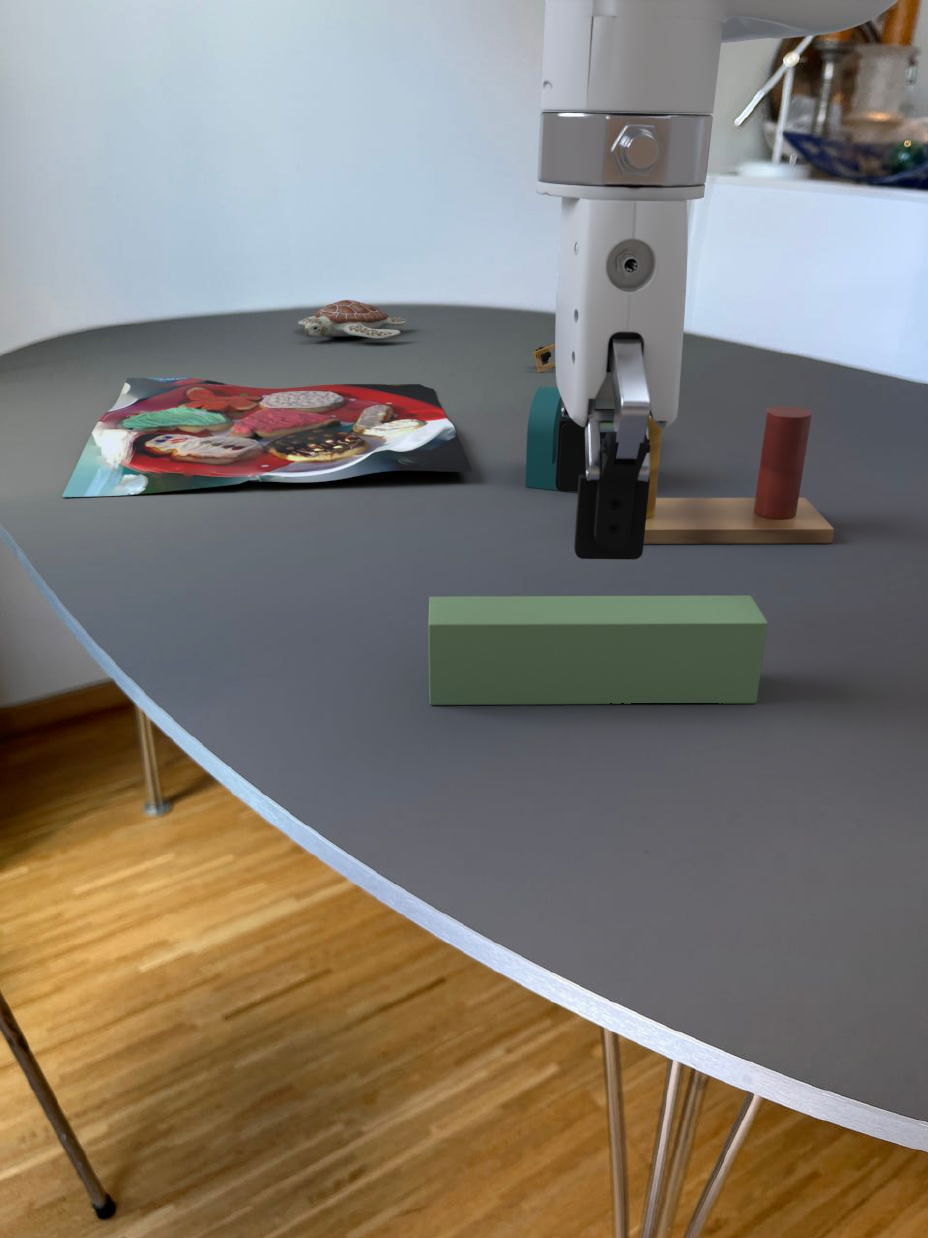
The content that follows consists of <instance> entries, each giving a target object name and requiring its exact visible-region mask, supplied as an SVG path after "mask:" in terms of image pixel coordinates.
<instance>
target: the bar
mask: <svg viewBox="0 0 928 1238" xmlns="http://www.w3.org/2000/svg"><path fill="white" fill-rule="evenodd" d="M427 619H428V622H427V628H428V629H427V630H428V631H427V634H428V636H427V637H428V641H427V643H428V697H429V698H428V703H429V705H430V706H472V705H473V706H492V705H493V706H494V705H496V706H497V705H498V706H499V705H500V706H501V705H502V706H503V705H504V706H507V705H512V706H513V705H517V706H518V705H520V706H521V705H523V706H524V705H525V706H526V705H529V706H530V705H622V704H621V703H624V704H623V705H632V704H631V703H719V704H721V703H723V704H757V700H758V694H759V688H760V680H761V674H762V673H761V672H762V667H763V660H764V654H765V646H766V640H767V633H768V627H769V622H768V621H767V619H766V617H765V616H764V614H763V612H762V611H761V610H760V608H759V606H758V605H757V603H756V601H755V599H754V598H753V596H752V595H745V594H744V595H740V594H739V595H537V596H536V595H532V596H530V595H526V596H525V595H514V596H513V595H511V596H509V595H507V596H502V595H501V596H499V595H498V596H497V595H496V596H495V595H494V596H493V595H492V596H491V595H490V596H489V595H487V596H483V595H482V596H479V595H477V596H475V595H473V596H471V595H470V596H469V595H468V596H429V597H428V618H427ZM610 703H612V704H610Z"/></svg>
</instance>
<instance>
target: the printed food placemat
mask: <svg viewBox="0 0 928 1238" xmlns="http://www.w3.org/2000/svg"><path fill="white" fill-rule="evenodd" d="M395 471H398V472H399V471H412V472H413V471H414V472H415V471H416V472H419V471H420V472H450V473H452V472H453V473H472V472H473V468H472V466H471V464H470V460H469V458H468V456H467V453H466V451H465V448H464V447H463V445H462V443H461V440H460V437H459V435H458V432H457V430H456V428H455V426H454V424H453V423H452V422H451V421H450V420H449V418H448V417H447V416H446V414H445V412H444V411H443V408H442V405H441V404H440V401H439V400H438V396H437V394H436V391H435V389H434V388H432V387H429V386H424V385H423V384H421V383H339V384H338V383H337V384H336V383H335V384H317V385H308V386H297V387H296V386H295V387H281V388H279V387H278V388H267V387H266V388H265V387H264V388H263V387H251V386H243V385H236V384H229V383H225V382H220V381H215V380H209V379H205V378H197V377H180V376H179V377H178V376H176V377H175V376H174V377H169V376H168V377H164V376H163V377H127V378H126V380H125V382H124V385H123V387H122V390H121V391H120V394H119V396H118V399H117V400H116V402H115V404H114V405H113V406H112V408H110V409H109V410H107V411H106V413H104V414H103V415H102V416H101V417H100V419H98V422H97V423H96V425H95V427H94V428H93V430H92V432H91V434H90V436H89V438H88V440H87V442H86V444H85V446H84V448H83V451H82V453H81V455H80V457H79V460H78V462H77V464H76V466H75V468H74V470H73V472H72V474H71V477H70V479H69V481H68V482H67V484H66V487H65V489H64V491H63V493H62V496H61V498H87V497H113V496H114V497H117V496H118V497H119V496H133V495H144V494H145V495H146V494H156V493H165V492H175V491H176V492H177V491H185V490H193V489H194V490H195V489H204V488H205V489H206V488H215V487H224V486H232V485H240V484H242V483H245V482H248V481H250V482H255V483H256V482H257V483H259V482H275V483H277V482H278V483H319V482H320V483H321V482H330V481H338V480H343V479H344V480H345V479H349V478H353V477H360V476H365V475H370V474H377V473H383V472H395Z"/></svg>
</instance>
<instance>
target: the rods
mask: <svg viewBox="0 0 928 1238" xmlns="http://www.w3.org/2000/svg"><path fill="white" fill-rule="evenodd" d="M812 415H813V414H812V411H810V410H809V409H806V408H803V407H798V406H790V405H779V406H778V405H777V406H772V407H769V408H768V409H767V410H766V415H765V423H764V432H763V438H762V447H761V453H760V460H759V467H758V468H759V469H758V477H757V483H756V492H755V497H657V496H658V495H657V494H658V493H657V491H658V482H659V470H660V459H661V451H662V450H661V449H662V438H663V429H664V428H660V427H659V426H658V425H657V424H656V422H655V421H654V420H653V419H652V417H651V416H649V421H648V428H649V439H650V442H649V444H650V475H649V478H650V485H649V495H648V505H647V515H646V525H645V535H644V545H678V544H679V545H703V544H704V545H706V544H707V545H723V544H727V545H731V544H733V545H737V544H742V545H744V544H749V545H750V544H751V545H752V544H753V545H754V544H758V545H759V544H761V545H763V544H764V545H767V544H768V545H769V544H771V545H772V544H833V539H834V533H835V528H834V527H833V526H832V525H831V524H830V522H828V520H827V519H826V518H825V517H824V516H823V515H822V514H821V513H820V511H818V509H816V507H815V506H814V505H813V504H812V503H811V502H810V500H808V499H807V498H806V497H800V493H801V487H802V480H803V473H804V467H805V461H806V453H807V448H808V441H809V434H810V427H811V421H812Z"/></svg>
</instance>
